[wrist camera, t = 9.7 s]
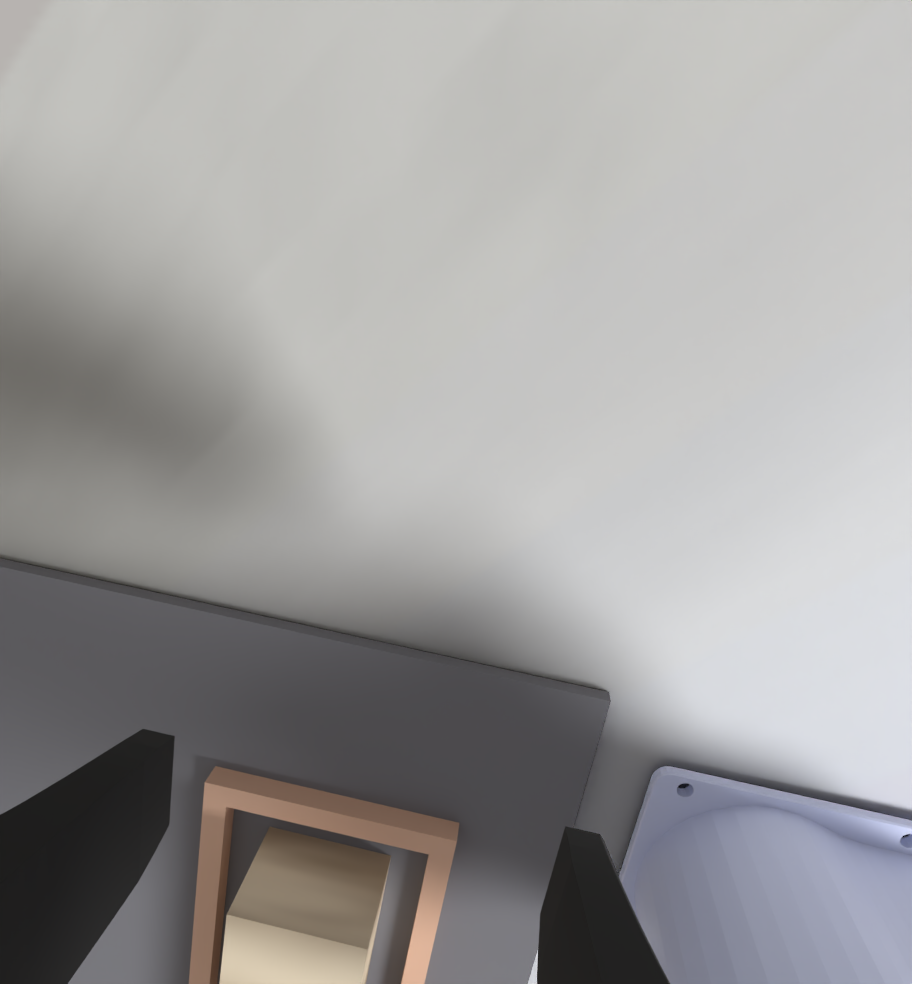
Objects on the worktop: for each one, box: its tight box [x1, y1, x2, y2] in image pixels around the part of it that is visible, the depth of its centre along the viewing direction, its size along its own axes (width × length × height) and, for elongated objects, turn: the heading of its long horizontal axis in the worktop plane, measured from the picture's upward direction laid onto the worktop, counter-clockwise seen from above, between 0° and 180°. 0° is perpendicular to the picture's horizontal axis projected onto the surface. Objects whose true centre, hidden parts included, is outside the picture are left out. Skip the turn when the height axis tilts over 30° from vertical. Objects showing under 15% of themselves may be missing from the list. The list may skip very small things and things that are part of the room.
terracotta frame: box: [189, 766, 459, 984], centre depth 25 cm, size 9×14×1 cm, turn 170°
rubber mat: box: [0, 558, 610, 984], centre depth 25 cm, size 24×20×1 cm
